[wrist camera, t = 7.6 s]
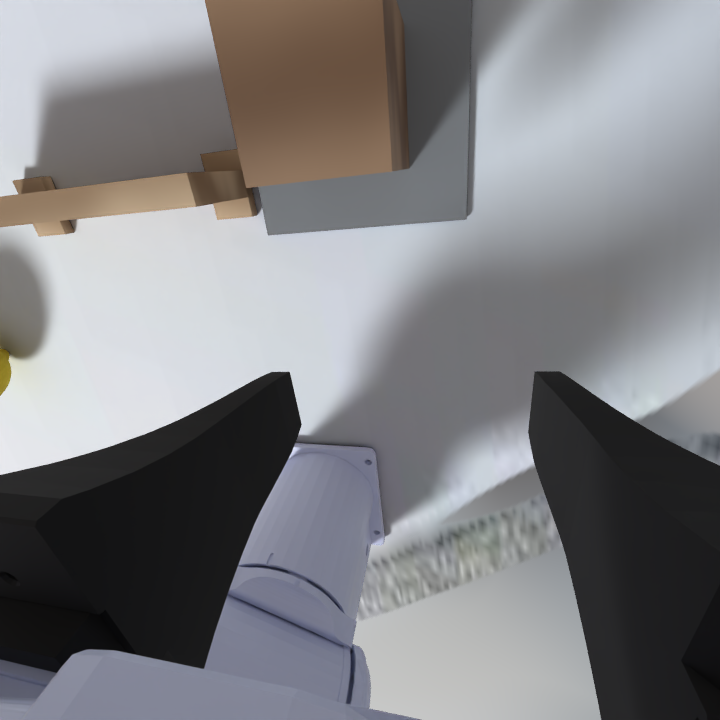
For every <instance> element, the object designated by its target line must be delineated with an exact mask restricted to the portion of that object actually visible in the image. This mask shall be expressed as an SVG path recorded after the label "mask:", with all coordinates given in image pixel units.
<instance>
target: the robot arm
mask: <svg viewBox="0 0 720 720" xmlns="http://www.w3.org/2000/svg"><path fill="white" fill-rule="evenodd" d="M301 425H302V424H301V420H300V416H299V411H298V407H297V402H296V398H295V393H294V389H293V385H292V380H291V376H290V372H271V373H268V374H266V375H264V376H262V377H260V378H258V379H256V380H254V381H252V382H250V383H248V384H246V385H245V386H243V387H241V388H239V389H237V390H236V391H234V392H232V393H230V394H228V395H227V396H225V397H223V398H221V399H219V400H217V401H216V402H214V403H212V404H210V405H208V406H206V407H204V408H202V409H200V410H198V411H196V412H194V413H192V414H190V415H188V416H186V417H184V418H182V419H180V420H178V421H175V422H173V423H171V424H169V425H166V426H164V427H162V428H159V429H157V430H154V431H152V432H150V433H147V434H145V435H142V436H139V437H136V438H133V439H130V440H128V441H125V442H122V443H119V444H116V445H114V446H111V447H108V448H105V449H101V450H98V451H95V452H92V453H88V454H85V455H81V456H78V457H74V458H70V459H67V460H63V461H59V462H55V463H52V464H48V465H43V466H39V467H34V468H30V469H25V470H21V471H16V472H12V473H8V474H3V475H0V720H420V719H416V718H411V717H406V716H402V715H397V714H392V713H387V712H383V711H378V710H373V709H369V707H370V693H371V688H370V687H371V683H370V674H369V670H368V666H367V664H366V658H365V655H364V652H363V650H362V649H361V648H360V647H359V646H356V645H354V644H352V642H353V637H354V632H355V627H356V616H357V612H358V607H359V602H360V597H361V592H362V587H363V582H364V577H365V572H366V567H367V562H368V557H369V552H370V547H371V544H372V545H382V544H384V540H385V535H384V526H383V517H382V507H381V498H380V489H379V480H378V470H377V461H376V453H375V451H374V450H373V449H371V448H368V447H351V446H334V445H317V444H301V443H295V442H296V440H297V437H298V434H299V431H300V428H301ZM528 433H529V439H530V444H531V449H532V454H533V459H534V463H535V467H536V469H537V472H538V475H539V478H540V481H541V484H542V487H543V490H544V493H545V495H546V498H547V501H548V504H549V507H550V509H551V512H552V515H553V518H554V521H555V524H556V526H557V529H558V532H559V535H560V538H561V541H562V544H563V547H564V551H565V554H566V558H567V562H568V566H569V570H570V574H571V578H572V583H573V587H574V590H575V595H576V599H577V604H578V609H579V613H580V618H581V622H582V626H583V631H584V635H585V640H586V645H587V650H588V655H589V659H590V664H591V669H592V674H593V679H594V684H595V689H596V694H597V698H598V704H599V709H600V715H601V720H720V466H719V465H717V464H715V463H713V462H710V461H708V460H706V459H704V458H702V457H700V456H698V455H696V454H694V453H692V452H690V451H688V450H686V449H684V448H682V447H680V446H678V445H676V444H674V443H672V442H670V441H668V440H666V439H665V438H663V437H661V436H659V435H657V434H655V433H654V432H652V431H650V430H649V429H647V428H645V427H644V426H642V425H640V424H639V423H637V422H635V421H633V420H632V419H630V418H629V417H627V416H625V415H624V414H622V413H621V412H619V411H617V410H616V409H614V408H613V407H611V406H610V405H608V404H607V403H605V402H604V401H602V400H601V399H599V398H598V397H597V396H595V395H594V394H592V393H591V392H589V391H588V390H586V389H585V388H584V387H582V386H581V385H579V384H578V383H576V382H575V381H573V380H572V379H571V378H569V377H568V376H566V375H565V374H563V373H561V372H535V375H534V384H533V393H532V402H531V412H530V421H529V430H528ZM367 459H368V460H370V461H367Z"/></svg>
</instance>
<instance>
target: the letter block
mask: <svg viewBox="0 0 720 720" xmlns="http://www.w3.org/2000/svg"><path fill="white" fill-rule="evenodd" d="M205 3H206V8H207V12H208V17H209V21H210V26H211V31H212V35H213V40H214V44H215V49H216V53H217V58H218V62H219V67H220V71H221V76H222V81H223V85H224V90H225V94H226V99H227V103H228V108H229V112H230V117H231V121H232V126H233V131H234V135H235V140H236V144H237V149H238V153H239V158H240V162H241V167H242V171H243V176H244V181H245V185H246V188H251V187H260V186H269V185H278V184H287V183H295V182H304V181H313V180H322V179H331V178H339V177H348V176H357V175H366V174H375V173H384V172H392V171H398V170H404V169H409V141H408V115H407V88H406V62H405V35H404V22H403V19H402V16H401V13H400V10H399V7H398V3H397V0H205Z"/></svg>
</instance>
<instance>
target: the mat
mask: <svg viewBox="0 0 720 720" xmlns="http://www.w3.org/2000/svg"><path fill="white" fill-rule="evenodd" d="M397 3H398V7H399V10H400V13H401V16H402V19H403V22H404V35H405V62H406V88H407V115H408V141H409V169H404V170H398V171H392V172H384V173H375V174H366V175H357V176H348V177H339V178H331V179H322V180H313V181H304V182H295V183H287V184H278V185H269V186H260V187H258V189H259V194H260V199H261V203H262V208H263V213H264V218H265V223H266V228H267V233H268V235H278V234H290V233H303V232H315V231H328V230H340V229H353V228H365V227H378V226H390V225H403V224H415V223H428V222H440V221H453V220H465V219H466V214H467V175H468V136H469V97H470V57H471V18H472V0H397Z"/></svg>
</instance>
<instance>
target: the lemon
mask: <svg viewBox="0 0 720 720" xmlns="http://www.w3.org/2000/svg"><path fill="white" fill-rule="evenodd" d="M8 360H9V353H8V351H6V350H5V349H1V348H0V396H1V394H2V393H3V392H4V391H5V389H6V388H7V386H8V384H9V382H10V378H11V367H10V363H9V361H8Z"/></svg>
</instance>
